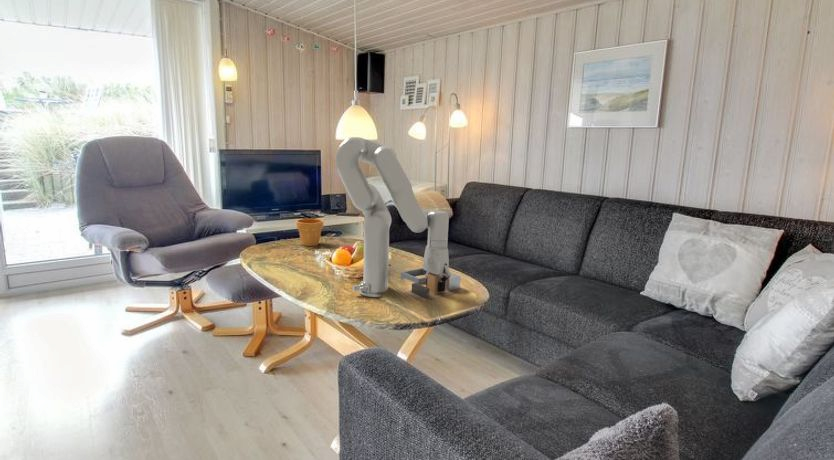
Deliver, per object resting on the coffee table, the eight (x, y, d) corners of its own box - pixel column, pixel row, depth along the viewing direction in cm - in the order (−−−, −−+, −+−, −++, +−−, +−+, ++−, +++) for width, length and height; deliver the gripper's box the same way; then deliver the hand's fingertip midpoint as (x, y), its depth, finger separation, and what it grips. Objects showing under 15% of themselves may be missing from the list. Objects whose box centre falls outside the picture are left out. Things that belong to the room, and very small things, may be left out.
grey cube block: (448, 291, 187) (449, 278, 186) (439, 287, 191) (439, 274, 190) (460, 288, 191) (460, 276, 190) (450, 284, 195) (451, 272, 194)
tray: (418, 287, 195) (418, 279, 195) (400, 279, 204) (400, 271, 204) (440, 282, 203) (441, 274, 202) (422, 275, 212) (422, 267, 211)
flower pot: (292, 246, 256) (291, 222, 254) (302, 240, 270) (302, 217, 268) (317, 248, 254) (317, 223, 252) (327, 242, 268) (327, 219, 265)
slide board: (421, 305, 175) (422, 292, 174) (401, 296, 184) (402, 283, 183) (467, 294, 189) (468, 282, 188) (446, 286, 198) (447, 274, 197)
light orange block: (433, 294, 183) (434, 276, 182) (426, 291, 186) (427, 273, 185) (443, 291, 186) (444, 274, 185) (436, 289, 189) (437, 271, 188)
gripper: (415, 240, 187) (413, 284, 190) (445, 249, 174) (443, 297, 177) (430, 238, 192) (428, 281, 195) (460, 247, 178) (457, 293, 182)
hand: (435, 288), depth 186 cm, fingers open, 6 cm apart
